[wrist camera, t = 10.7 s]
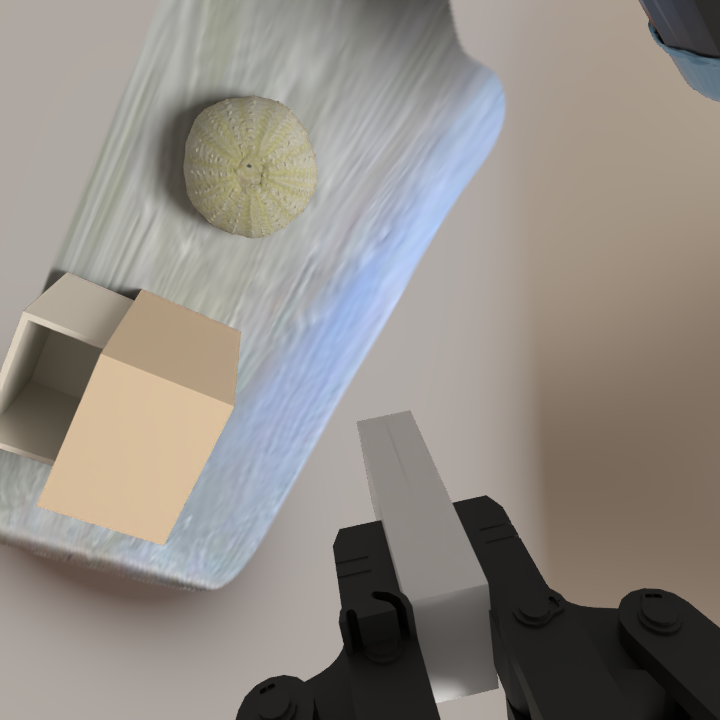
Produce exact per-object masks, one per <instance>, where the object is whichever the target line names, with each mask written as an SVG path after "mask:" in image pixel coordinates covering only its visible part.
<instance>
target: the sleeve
mask: <svg viewBox="0 0 720 720" xmlns="http://www.w3.org/2000/svg"><path fill="white" fill-rule="evenodd" d="M240 337H241V332H240V331H237V330H235V329H233V328H231V327H228V326H226V325H224V324H221V323H219V322H217V321H214V320H212V319H210V318H208V317H205V316H203V315H201V314H198V313H196V312H194V311H191V310H189V309H187V308H185V307H182V306H180V305H178V304H175V303H173V302H171V301H168V300H166V299H164V298H162V297H159V296H157V295H155V294H152V293H150V292H148V291H145V290H143V289H142V290H141V291H140V293H139V294H138V296H137V297H136V299H135V301H134V302H133V304H132V305H131V307H130V308H129V310H128V312H127V313H126V315H125V316H124V318H123V319H122V321H121V323H120V324H119V326H118V327H117V329H116V330H115V332H114V334H113V335H112V337H111V338H110V340H109V341H108V343H107V345H106V346H105V348H104V349H103V351H102V352H101V354H100V357H99V359H98V361H97V364H96V366H95V368H94V371H93V373H92V375H91V378H90V380H89V383H88V385H87V387H86V390H85V392H84V394H83V397H82V399H81V401H80V404H79V406H78V409H77V411H76V413H75V416H74V418H73V420H72V423H71V425H70V428H69V430H68V432H67V435H66V437H65V439H64V442H63V444H62V446H61V449H60V451H59V454H58V456H57V458H56V461H55V463H54V465H53V468H52V470H51V473H50V475H49V477H48V480H47V482H46V484H45V487H44V489H43V491H42V494H41V496H40V499H39V501H38V503H37V506H38V507H41V508H44V509H47V510H51V511H54V512H57V513H60V514H63V515H67V516H70V517H73V518H76V519H80V520H83V521H86V522H89V523H93V524H96V525H99V526H102V527H105V528H109V529H112V530H115V531H118V532H122V533H125V534H128V535H131V536H135V537H138V538H141V539H144V540H147V541H151V542H154V543H157V544H160V545H164V544H165V542H166V540H167V538H168V536H169V534H170V532H171V530H172V528H173V526H174V524H175V522H176V520H177V518H178V516H179V514H180V512H181V510H182V508H183V506H184V504H185V503H186V501H187V499H188V497H189V495H190V493H191V491H192V489H193V487H194V485H195V483H196V481H197V479H198V477H199V475H200V473H201V471H202V469H203V467H204V465H205V463H206V461H207V459H208V457H209V455H210V453H211V451H212V449H213V447H214V445H215V443H216V441H217V439H218V438H219V436H220V434H221V432H222V430H223V428H224V426H225V424H226V422H227V420H228V418H229V416H230V414H231V412H232V410H233V408H234V404H235V393H236V382H237V371H238V360H239V348H240Z"/></svg>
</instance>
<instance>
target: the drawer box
mask: <svg viewBox="0 0 720 720" xmlns="http://www.w3.org/2000/svg"><path fill="white" fill-rule="evenodd" d="M133 302H134V300H132V299H129V298H127V297H125V296H122V295H120V294H118V293H115V292H113V291H111V290H108V289H106V288H104V287H101V286H99V285H96V284H94V283H92V282H89V281H87V280H85V279H82V278H80V277H78V276H75V275H73V274H71V273H68V272H67V273H66V274H65V275H63V276H62V277H61V278H60V279H59V280H58V281H57V282H55V283H54V284H53V285H52V286H51V287H50V288H49V289H48V290H46V291H45V292H44V293H43V294H42V295H41V296H40V297H38V298H37V299H36V300H35V301H34V302H33V303H32V304H31V305H29V306H28V307H27V308H26V309H25V310H24V311H23V313H22V316H21V318H20V321H19V323H18V326H17V329H16V332H15V334H14V337H13V340H12V342H11V345H10V348H9V350H8V353H7V356H6V358H5V361H4V364H3V366H2V369H1V372H0V449H3V450H6V451H9V452H12V453H15V454H18V455H21V456H25V457H28V458H31V459H34V460H37V461H40V462H43V463H46V464H49V465H52V466H53V465H54V463H55V461H56V458H57V456H58V454H59V451H60V449H61V446H62V444H63V442H64V439H65V437H66V435H67V432H68V430H69V428H70V425H71V423H72V420H73V418H74V416H75V413H76V411H77V409H78V406H79V404H80V401H81V399H82V397H83V394H84V392H85V390H86V387H87V385H88V383H89V380H90V378H91V375H92V373H93V371H94V368H95V366H96V364H97V361H98V359H99V357H100V354H101V352H102V351H103V349H104V348H105V346H106V345H107V343H108V341H109V340H110V338H111V337H112V335H113V334H114V332H115V330H116V329H117V327H118V326H119V324H120V323H121V321H122V319H123V318H124V316H125V315H126V313H127V312H128V310H129V308H130V307H131V305H132V304H133Z"/></svg>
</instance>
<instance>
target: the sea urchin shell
mask: <svg viewBox="0 0 720 720" xmlns="http://www.w3.org/2000/svg"><path fill="white" fill-rule="evenodd" d="M315 156H316V155H315V153H314V151H313V149H312V146H311V144H310V141H309V139H308V136H307V132H306V129H305V128H304V127H303V125H302V124H301V123H300V122H299V120H298V119H297V117H296V116H295V115H294V113H293V112H292V111H291V109H289V108H288V107H286V106H285V105H283V104H281V103H280V102H279V101H274V100H271V99H265V98H261V97H256V96H255V95H253V96H251V97H242V98H231V99H226V100H224V101H221V102H217V103H216V104H215V105H212V106H210V107H208V108H206V109H204V110H203V112H201V113H200V114H199V115H198V117H197V118H195V120H194V123H193V125H192V128H191V131H190V133H189V135H188V138H187V141H185V159H184V163H183V166H184V167H183V171H184V177H185V182H186V189H187V192H186V193H187V195H188V196H189V198H190V200H191V202H192V205H193V206H194V207H195V208H196V209H197V210H198V211H199V212H200V213H201V214H202V215H203V216H204V217H205V218H206V219H207V221H208V222H209V223H211V224H212V225H214V226H216V227H219V228H221V229H223V230H225V231H226V232H230V233H231V234H237V235H241V236H245V237H247V238H260V237H267V236H268V235H270V234H272V233H273V232H275V231H278V230H280V229H281V228H285V227H286V225H287V224H288V223H289V222H290V221H292V220H293V219H294V218H295V217H296V216H298V215H299V214H300V213H301V212H303V211H304V208H305V206H306V205H307V203H308V202H309V199H310V198H311V197H312V195H313V193H314V191H315V187H316V183H317V179H318V175H317V167H316V159H315Z"/></svg>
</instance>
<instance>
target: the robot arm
mask: <svg viewBox="0 0 720 720" xmlns="http://www.w3.org/2000/svg"><path fill="white" fill-rule="evenodd" d="M639 2H640V4H641V5H642V7H643V9H644V11H645V13H646V15H647V16H648V18H649V23H648V26H649V30H650V32H651V34H652V37H653V38H654V40H655V42H656V43H657V44H658V45H659V46H660V47H662V48H663V49H664V51H665V52H666V53H668V54H669V55H670V57H671V58H672V60H673V62H674V63H675V65H676V67H677V68H678V70H679V71H680V73H681V75H682V76H683V78H684V79H685V81H686V82H687V84H689V86H690V87H692V88H693V89H694V90H696V91H698V92H699V93H701V94H702V95H704V96H705V97H708V98H710V99H712V100H714V101H718V102H720V0H639ZM357 425H358V431H359V436H360V442H361V446H362V452H363V457H364V463H365V468H366V473H367V479H368V484H369V489H370V494H371V500H372V505H373V508H374V512H375V516H376V520H377V521H375V522H370V523H366V524H361V525H356V526H352V527H348V528H343V529H340V530H339V532H338V534H337V537H336V540H335V542H334V545H333V550H334V556H335V563H336V571H337V578H338V584H339V591H340V599H341V606H342V609H341V611H340V617H339V625H340V630H341V634H342V638H343V643H344V646H343V649H342V651H341V653H340V655H339V656H338V658H337V659H336V660H335V661H334V662H333V663H332V664H331V665H330V666H329V667H328V668H327V669H325V670H324V671H322V672H321V673H320V674H318V675H316V676H314V677H313V678H311V679H309V680H307V681H305V682H303V681H302V680H300V679H299V678H297V677H292V676H287V675H282V676H277V677H271V678H268V679H267V680H265V681H263V682H261V683H260V684H258V685H256V686H255V687H254V688H253V689H252V690H251V691H250V692H249V693H248V694H247V695H246V696H245V698H244V700H243V702H242V704H241V706H240V708H239V710H238V714H237V717H236V720H440V716H439V713H438V709H437V706H436V703H439V702H444V701H448V700H452V699H456V698H460V697H464V696H468V695H472V694H477V693H481V692H485V691H489V690H493V689H497V688H499V687H498V677H497V673H498V676H499V678H500V681H501V683H502V686H503V688H504V691H505V694H506V704H507V716H508V720H720V628H719V627H718V626H717V625H716V624H714V623H713V622H712V621H711V620H709V619H708V618H707V617H706V616H704V615H703V614H702V613H701V612H700V611H698V610H697V609H696V608H695V607H693V606H692V605H691V604H690V603H689V602H687V601H686V600H684V599H682V598H680V597H678V596H677V595H676V594H674V593H671V592H667V591H664V590H661V589H646V588H644V589H640V590H636V591H632V592H630V593H629V594H628V595H626V596H625V597H624V598H623V599H622V600H621V603H620V605H619V608H618V609H616V608H593V607H585V606H579V605H576V604H573V603H570V602H568V601H566V600H565V599H564V598H563V597H562V595H561V594H559V593H557V592H556V591H554V590H552V589H550V588H549V587H548V585H547V584H546V583H545V581H544V579H543V577H542V575H541V574H540V572H539V570H538V568H537V567H536V565H535V563H534V561H533V560H532V558H531V556H530V554H529V553H528V551H527V549H526V547H525V546H524V544H523V542H522V540H521V539H520V538H519V536H518V533H517V532H516V530H515V528H514V526H513V525H512V524H511V521H510V520H509V517H508V516H507V514H506V512H505V510H504V509H503V507H502V506H501V505H499V504H498V503H496V502H495V501H494V500H492V499H491V498H489V497H488V496H486V495H485V496H481V497H476V498H472V499H467V500H463V501H458V502H454V503H452V502H451V500H450V498H449V495H448V493H447V491H446V488H445V486H444V484H443V482H442V480H441V478H440V475H439V473H438V471H437V468H436V466H435V464H434V462H433V460H432V457H431V455H430V453H429V451H428V449H427V447H426V444H425V442H424V440H423V438H422V435H421V433H420V431H419V429H418V427H417V424H416V422H415V420H414V417H413V415H412V413H411V411H405V412H401V413H396V414H391V415H386V416H382V417H377V418H372V419H368V420H363V421H358V422H357Z"/></svg>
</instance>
